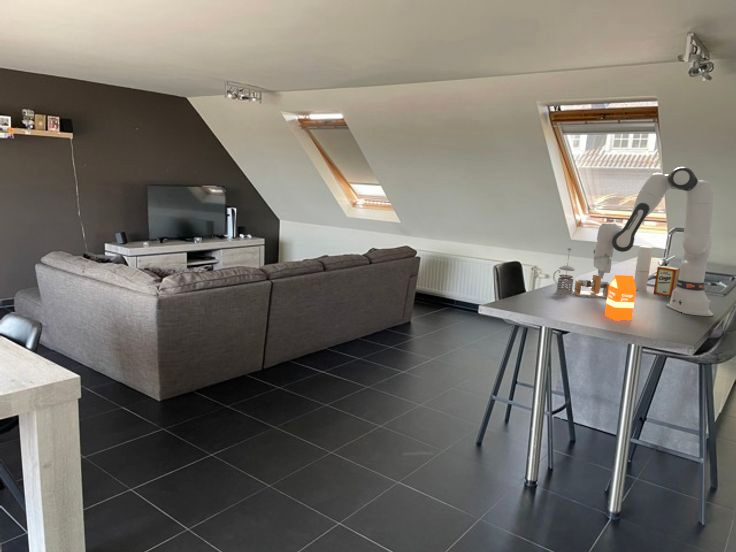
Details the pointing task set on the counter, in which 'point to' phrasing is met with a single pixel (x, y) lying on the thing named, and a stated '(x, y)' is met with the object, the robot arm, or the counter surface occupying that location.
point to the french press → (565, 281)
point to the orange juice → (621, 298)
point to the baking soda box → (666, 280)
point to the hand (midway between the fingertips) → (600, 278)
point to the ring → (597, 285)
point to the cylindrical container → (643, 267)
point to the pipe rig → (590, 284)
